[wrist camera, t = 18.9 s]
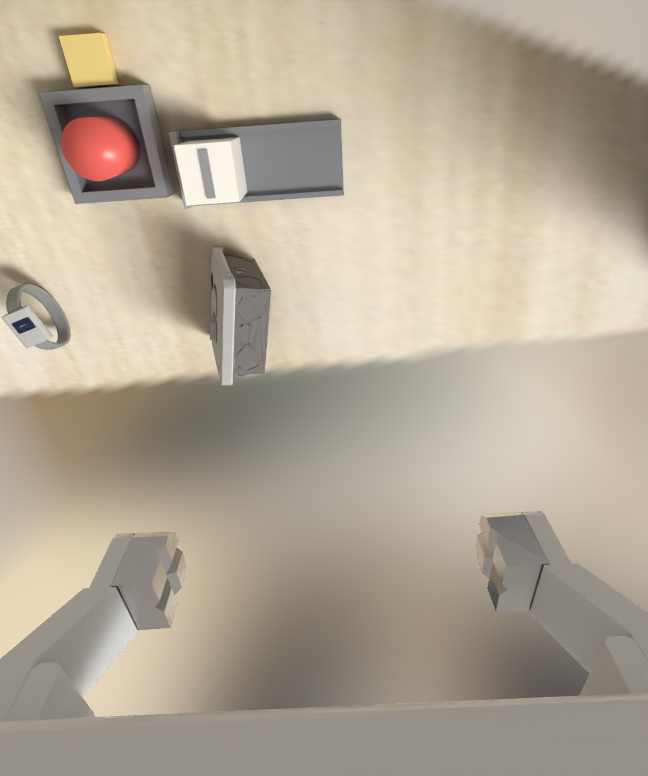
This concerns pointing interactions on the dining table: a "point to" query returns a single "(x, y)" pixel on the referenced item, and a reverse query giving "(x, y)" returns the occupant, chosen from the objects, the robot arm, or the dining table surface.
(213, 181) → the white slotted block
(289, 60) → the dining table surface
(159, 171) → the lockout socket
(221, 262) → the electrical switch
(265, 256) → the dining table surface
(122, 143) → the cap
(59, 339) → the wristwatch
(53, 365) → the dining table surface
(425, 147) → the dining table surface
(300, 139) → the rail
